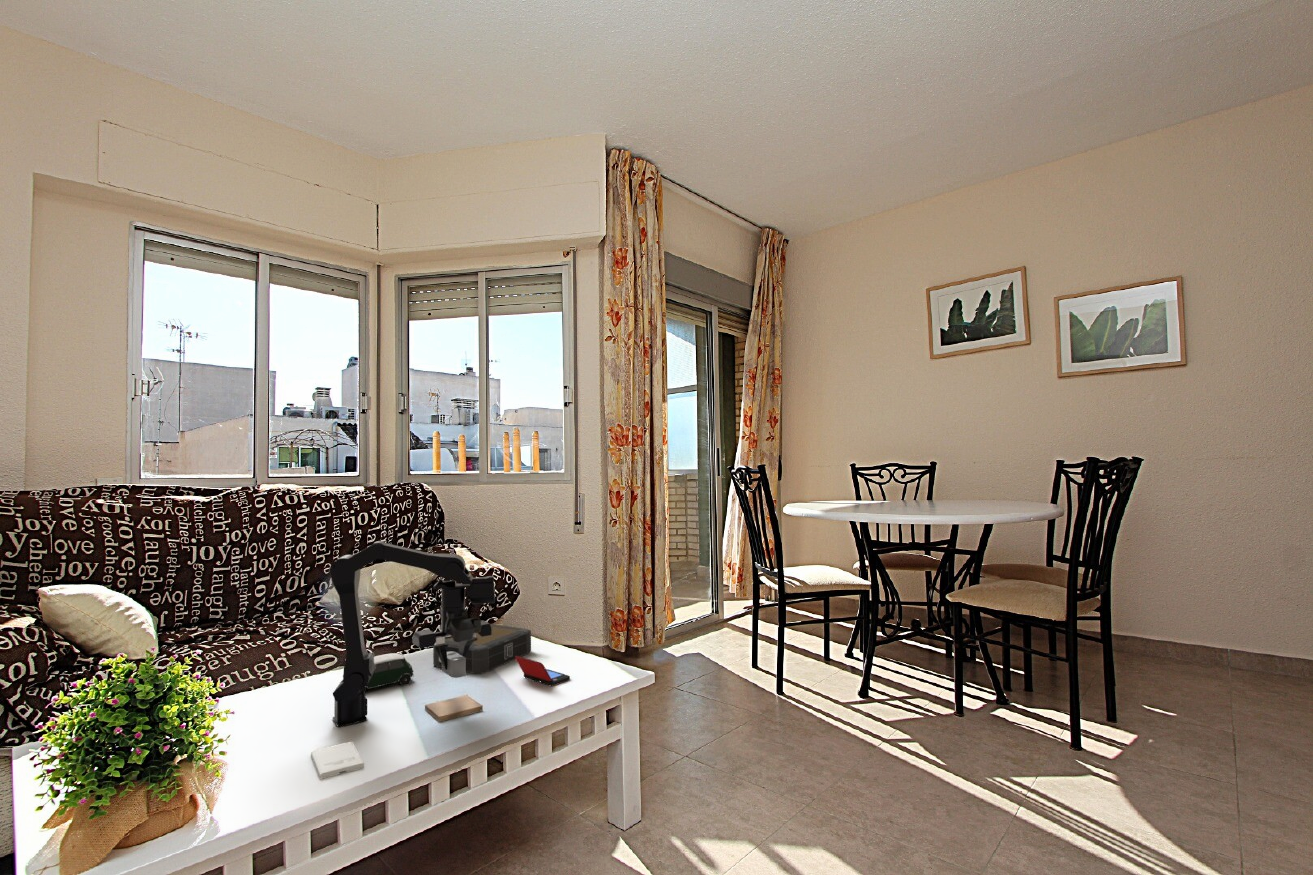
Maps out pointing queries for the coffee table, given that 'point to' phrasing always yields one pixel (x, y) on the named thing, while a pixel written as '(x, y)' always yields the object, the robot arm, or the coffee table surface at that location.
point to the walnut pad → (453, 708)
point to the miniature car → (390, 670)
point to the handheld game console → (540, 672)
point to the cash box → (492, 648)
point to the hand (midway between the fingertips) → (453, 667)
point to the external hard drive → (336, 759)
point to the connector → (455, 665)
